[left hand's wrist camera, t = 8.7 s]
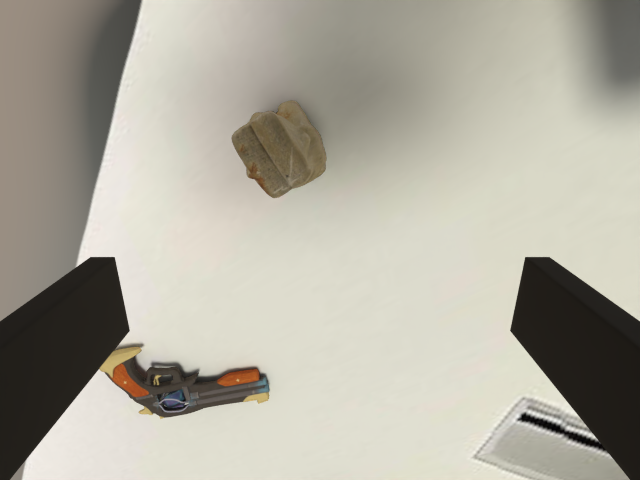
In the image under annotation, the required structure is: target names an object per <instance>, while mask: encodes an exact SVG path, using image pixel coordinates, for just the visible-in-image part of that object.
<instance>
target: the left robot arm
mask: <svg viewBox="0 0 640 480" xmlns="http://www.w3.org/2000/svg"><path fill="white" fill-rule="evenodd" d="M129 331H130V330H129V325H128V320H127V315H126V310H125V305H124V301H123V296H122V291H121V286H120V281H119V276H118V271H117V266H116V261H115V257H90V258H89V259H87V260H86V261H85V262H83V263H82V264H80V265H79V266H78V267H76V268H75V269H73V270H72V271H71V272H69V273H68V274H66V275H65V276H64V277H62V278H61V279H59V280H58V281H57V282H55V283H54V284H52V285H51V286H49V287H48V288H47V289H45V290H44V291H42V292H41V293H40V294H38V295H37V296H35V297H34V298H33V299H31V300H30V301H28V302H27V303H26V304H24V305H23V306H21V307H20V308H18V309H17V310H16V311H14V312H13V313H11V314H10V315H9V316H7V317H6V318H4V319H3V320H2V321H0V480H10V479H11V478H12V476H13V475H14V474H15V473H16V471H17V470H18V469H19V468H20V466H21V465H22V464H23V463H24V461H25V460H26V459H27V458H28V456H29V455H30V454H31V453H32V451H33V450H34V449H35V448H36V447H37V445H38V444H39V443H40V442H41V440H42V439H43V438H44V437H45V435H46V434H47V433H48V432H49V430H50V429H51V428H52V427H53V425H54V424H55V423H56V422H57V420H58V419H59V418H60V417H61V415H62V414H63V413H64V412H65V410H66V409H67V408H68V407H69V406H70V404H71V403H72V402H73V401H74V399H75V398H76V397H77V396H78V394H79V393H80V392H81V391H82V389H83V388H84V387H85V386H86V384H87V383H88V382H89V381H90V379H91V378H92V377H93V376H94V374H95V373H96V372H97V371H98V369H99V368H100V367H101V366H102V365H103V363H104V362H105V361H106V360H107V358H108V357H109V356H110V355H111V353H112V352H113V351H114V350H115V348H116V347H117V346H118V345H119V343H120V342H121V341H122V340H123V338H124V337H125V336H126V335H127V333H128V332H129ZM510 331H511V332H512V333H513V335H514V336H515V337H516V338H517V340H518V341H519V342H520V343H521V345H522V346H523V347H524V348H525V350H526V351H527V352H528V353H529V355H530V356H531V357H532V358H533V360H534V361H535V362H536V363H537V365H538V366H539V367H540V368H541V369H542V371H543V372H544V373H545V374H546V376H547V377H548V378H549V379H550V381H551V382H552V383H553V384H554V386H555V387H556V388H557V389H558V391H559V392H560V393H561V394H562V396H563V397H564V398H565V399H566V401H567V402H568V403H569V404H570V406H571V407H572V408H573V409H574V410H575V412H576V413H577V414H578V415H579V417H580V418H581V419H582V420H583V422H584V423H585V424H586V425H587V427H588V428H589V429H590V430H591V432H592V433H593V434H594V435H595V437H596V438H597V439H598V440H599V442H600V443H601V444H602V445H603V447H604V448H605V449H606V450H607V451H608V453H609V454H610V455H611V456H612V458H613V459H614V460H615V461H616V463H617V464H618V465H619V466H620V468H621V469H622V470H623V471H624V473H625V474H626V475H627V476H628V478H629V479H630V480H640V321H638V320H637V319H636V318H634V317H633V316H631V315H630V314H629V313H627V312H626V311H624V310H623V309H622V308H620V307H619V306H617V305H616V304H614V303H613V302H612V301H610V300H609V299H607V298H606V297H605V296H603V295H602V294H600V293H599V292H598V291H596V290H595V289H593V288H592V287H591V286H589V285H588V284H586V283H585V282H584V281H582V280H581V279H579V278H578V277H576V276H575V275H574V274H572V273H571V272H569V271H568V270H567V269H565V268H564V267H562V266H561V265H560V264H558V263H557V262H555V261H554V260H553V259H551V258H550V257H525V261H524V266H523V271H522V276H521V281H520V286H519V291H518V296H517V301H516V305H515V310H514V315H513V320H512V325H511V330H510Z"/></svg>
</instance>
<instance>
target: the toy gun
mask: <svg viewBox="0 0 640 480" xmlns="http://www.w3.org/2000/svg"><path fill="white" fill-rule="evenodd" d="M140 352H141V348H139V347H131V348H125V349H119V350H116V351H113V352H112V353H111V355H110V356H109V357H108V358H107V360H106V361H105V362H104V363H103V365H102V366H101V367H100V368H99V369H100V371H102V372H105V374H106V375H107V376H108V377H109V378H110V379H111V380H112V382H114V383H115V384H116V385H117V386H118V387H120V388H121V389H122V390H124V391H125V392H126V393H127V394H128V395H129V397H130V398H132V399H133V400H134V401H135V402H137V403H139V404H141V405H143V406H144V409H143V410H141V411H139V413H140V414H149V415H152V414H153V413H156V414H157V415H159V416H160V419H162V418H165V417H173V416H178V415H184V414H188V413H192V412H195V411H198V410H200V409H203V408H207V407H212V406H218V405H224V404H230V403H237V402H246V401H253V400H257V401H258V404H259V403H262V402H265V401H268V399H269V385H268V384H267V379H266V377H264V378H263V376H261V377H260V375H259V371H258V370H257V369H252V370H245V371H238V372H231V373H228V374H226V375H224V376H223V377H221V378H219V379H218V380H215V381H210V382H195V380H196V378H197V376H198V374H199V373H196V374H194V375H192V376H189V377H186V378H183V377H182V374H181V371H180V370H179V369H178V368H176V367H170V368H154V367H150V368H149V369H148V370H147V379H146V378H144V377H143V376H142V375H141V374H140V373H139V372H138V371H137V369H136V368H135V365H134V356H135V355H137V354H138V353H140ZM169 374H170V375H172V376H173V380H171V381H166V382H160V383H159V380H158V378H159V377H161V376H162V375H169ZM152 375H156V376H155V378H154V382H153V380H152ZM155 379H156V381H157V382H155ZM167 392H171V393H169V394H168V395H167V396H165V397H164V395H165V393H167ZM162 393H164V394H163V396H161V394H162ZM163 397H164V398H163ZM186 402H189V404H187V405H184V404H185V403H186ZM164 405H166V406H167V407H166V406H164Z"/></svg>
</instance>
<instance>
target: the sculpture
mask: <svg viewBox="0 0 640 480" xmlns="http://www.w3.org/2000/svg"><path fill="white" fill-rule="evenodd" d="M232 142H233V145H234V147H235V149H236V151H237V153H238V155H239V156H240V158H241V159H242V161H243V163H244V164H245V166H246V167H247V176H248V177H249V178H251V179H255V180H256V182H257V183H258V184H259V185H260V187H261V188H262V189H263V190H264V191H265V192H266V193H267V194H268V195H269V196H271V197H272V198H277V197H280V196H282V195H284V194H285V193H287V192H288V191H289V190H291V189H293V188H297V187H300V186H303V185H305V184H307V183H309V182H311V181H312V180H314V179H315V178H317V177H319V176H320V175H321V174H322V173H323V172H324V171H325V168H326V165H325V162H326V153H325V150H324V147H323V143H322V139H321V136H320V134H319V132H318V131H317V130H316V129H315V128H314V127H313V126H312V125H311V123H310V121H309V120H308V118H307V116H306V115H305V113H304V112H303V110H302V108H301V107H300V105H299V104H298V103H297V102H295V101H287V102H284V103H282V104H281V105H280V106H279V107H278V112H277V113H274V112H273V111H267V112H264V113H260V112H258V113H255V114H253V115H252V117H251V119H250V121H249V122H248V123H247V124H246V125H244V126H242V127H241V128H239V129H238V130H237V131H236V132H235V133H234V134H233V135H232Z"/></svg>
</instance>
